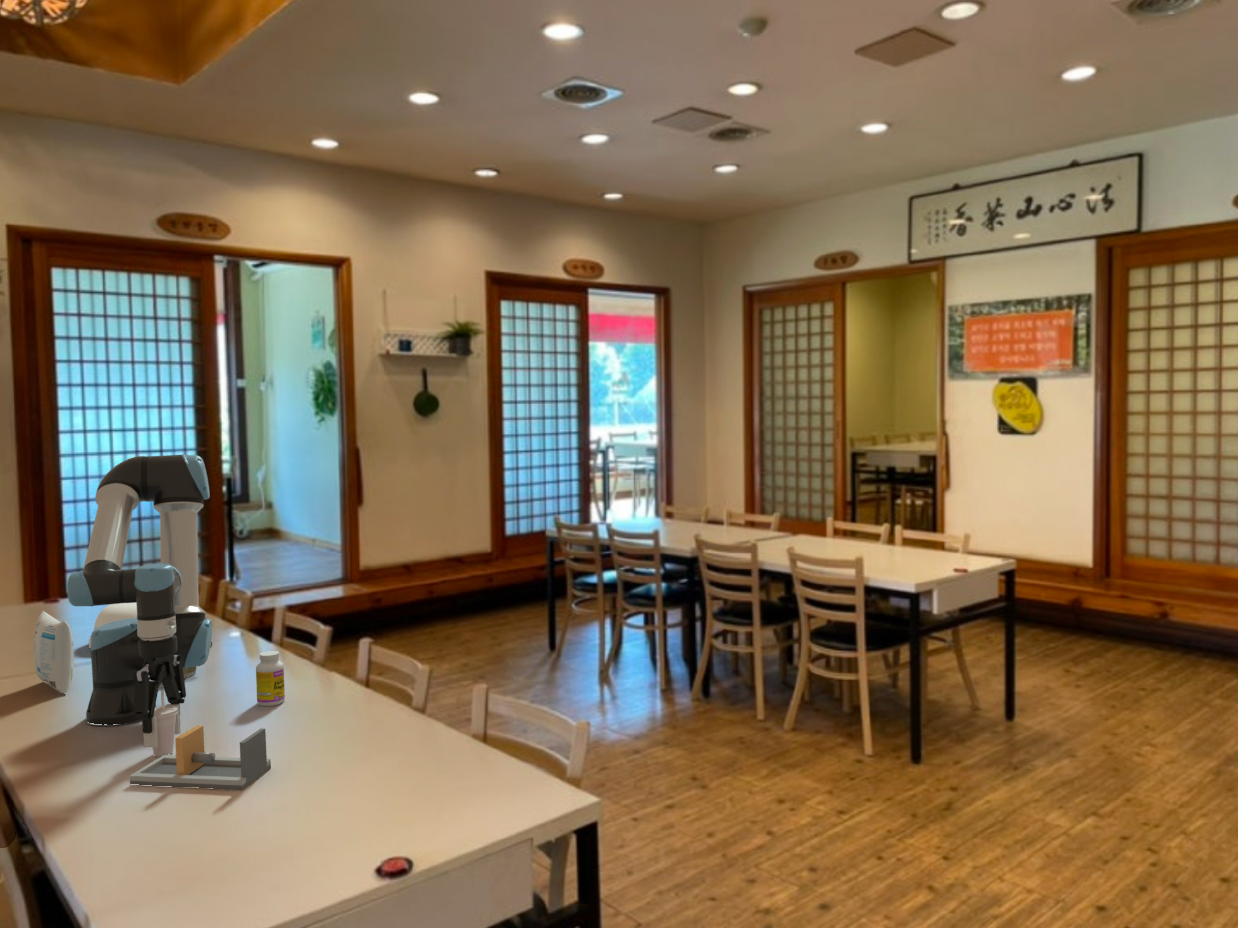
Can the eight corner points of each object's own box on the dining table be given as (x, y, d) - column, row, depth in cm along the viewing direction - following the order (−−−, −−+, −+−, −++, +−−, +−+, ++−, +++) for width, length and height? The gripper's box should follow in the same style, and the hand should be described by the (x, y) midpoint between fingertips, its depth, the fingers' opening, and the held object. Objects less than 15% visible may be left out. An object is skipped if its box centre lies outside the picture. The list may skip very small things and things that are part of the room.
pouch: (47, 699, 241) (42, 624, 239) (31, 684, 254) (26, 612, 253) (81, 692, 246) (77, 618, 245) (63, 678, 260) (59, 608, 259)
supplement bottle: (275, 707, 231) (273, 657, 230) (251, 706, 232) (249, 656, 231) (290, 699, 237) (288, 650, 236) (267, 698, 238) (264, 649, 238)
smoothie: (186, 750, 203) (183, 687, 202) (163, 760, 197) (160, 696, 196) (163, 747, 205) (160, 685, 204) (140, 757, 199) (136, 694, 198)
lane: (130, 785, 184) (127, 741, 183) (164, 764, 195) (162, 722, 194) (242, 790, 181) (240, 745, 180) (270, 768, 191) (269, 726, 191)
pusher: (177, 777, 184) (175, 738, 184) (198, 763, 192) (196, 725, 191) (202, 778, 184) (200, 739, 183) (223, 764, 191) (221, 726, 190)
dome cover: (132, 628, 319) (130, 588, 318) (212, 630, 314) (210, 589, 313) (63, 653, 287) (61, 609, 286) (151, 656, 283) (149, 610, 282)
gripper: (143, 649, 189) (148, 758, 190) (200, 625, 209) (205, 724, 210) (109, 648, 190) (115, 757, 191) (170, 624, 210) (175, 723, 211)
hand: (162, 739), depth 201 cm, fingers open, 7 cm apart
